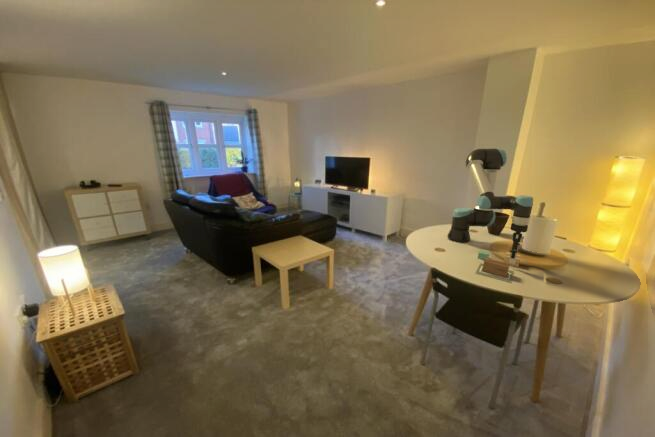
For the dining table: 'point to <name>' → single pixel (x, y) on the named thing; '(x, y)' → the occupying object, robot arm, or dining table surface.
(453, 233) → the robot arm
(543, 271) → the dining table surface
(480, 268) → the grey flat square plate
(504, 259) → the oak block
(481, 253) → the teal cube
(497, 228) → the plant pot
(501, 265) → the walnut foundation
